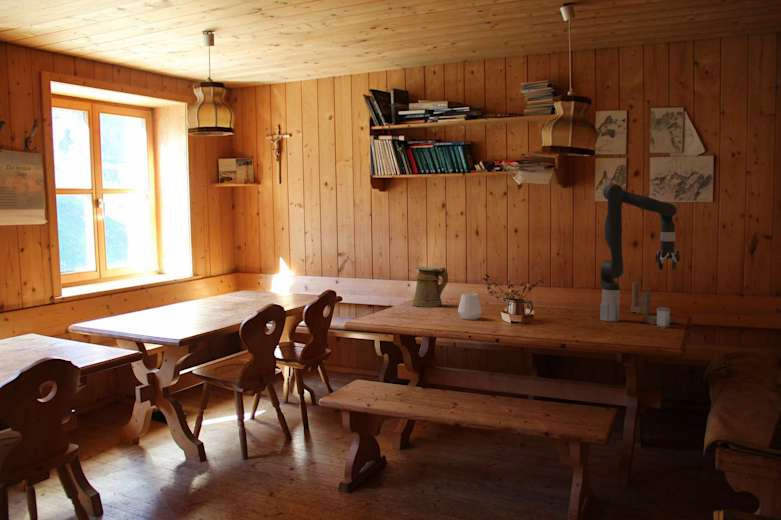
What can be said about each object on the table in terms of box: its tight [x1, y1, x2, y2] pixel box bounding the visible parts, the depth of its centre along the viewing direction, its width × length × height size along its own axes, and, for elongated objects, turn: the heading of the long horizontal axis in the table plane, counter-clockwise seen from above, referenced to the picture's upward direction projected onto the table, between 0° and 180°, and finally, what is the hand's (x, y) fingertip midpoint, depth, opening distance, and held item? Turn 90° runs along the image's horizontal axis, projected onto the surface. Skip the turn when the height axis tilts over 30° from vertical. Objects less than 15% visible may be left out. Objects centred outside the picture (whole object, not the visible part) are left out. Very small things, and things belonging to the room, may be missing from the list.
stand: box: [642, 315, 676, 325], centre depth 367 cm, size 14×9×3 cm, turn 109°
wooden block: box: [630, 281, 652, 315], centre depth 400 cm, size 4×11×18 cm, turn 40°
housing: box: [655, 306, 671, 329], centre depth 354 cm, size 5×5×10 cm
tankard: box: [412, 266, 449, 308], centre depth 435 cm, size 18×24×25 cm
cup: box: [457, 292, 482, 321], centre depth 385 cm, size 13×13×14 cm
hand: (667, 269), depth 373 cm, fingers open, 8 cm apart
